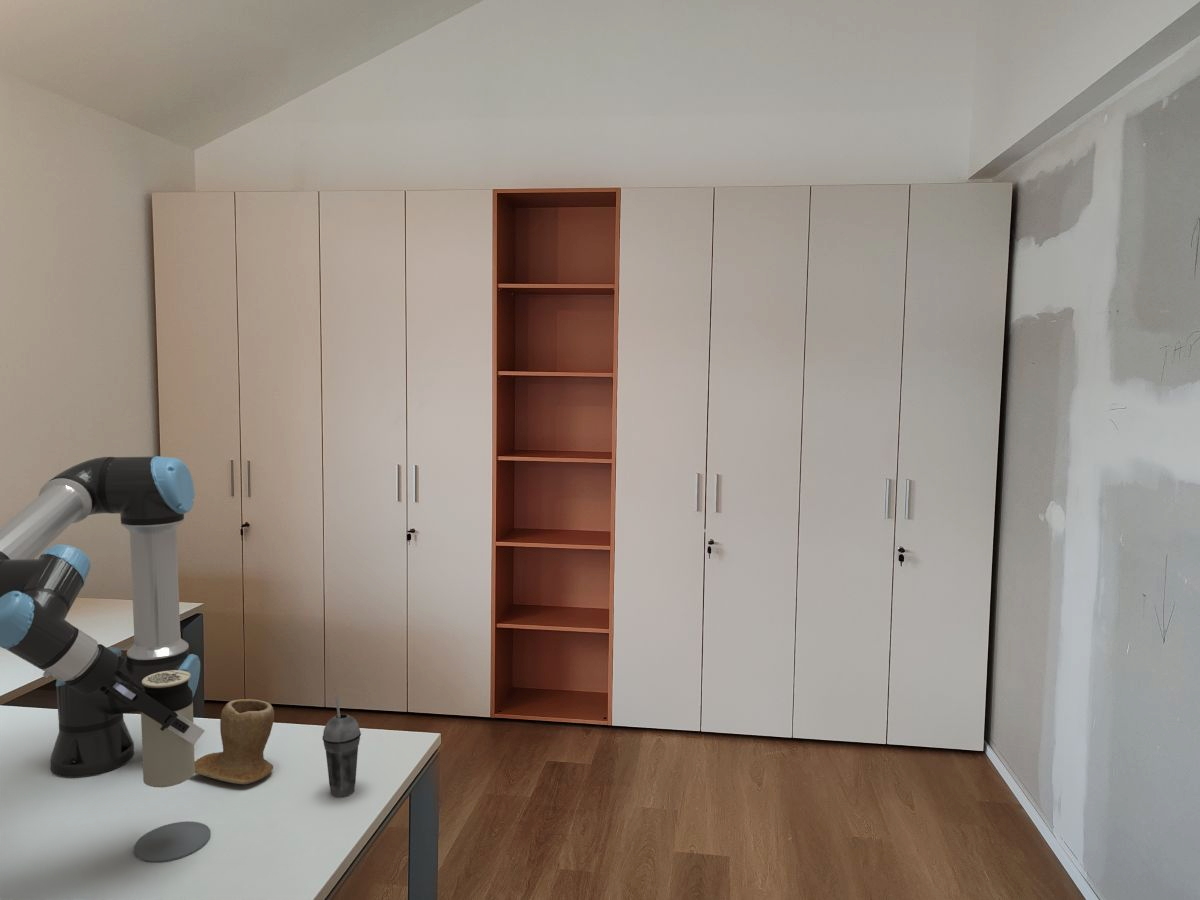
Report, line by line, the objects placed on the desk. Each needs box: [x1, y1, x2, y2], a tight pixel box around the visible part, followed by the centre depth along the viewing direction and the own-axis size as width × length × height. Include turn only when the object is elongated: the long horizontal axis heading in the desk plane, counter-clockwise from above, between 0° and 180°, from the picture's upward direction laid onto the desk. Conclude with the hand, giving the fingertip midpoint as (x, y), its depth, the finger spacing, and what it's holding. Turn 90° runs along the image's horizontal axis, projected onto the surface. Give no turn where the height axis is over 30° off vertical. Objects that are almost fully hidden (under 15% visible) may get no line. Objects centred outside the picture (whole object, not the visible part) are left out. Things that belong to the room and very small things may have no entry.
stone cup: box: [194, 698, 275, 785], centre depth 171 cm, size 15×12×15 cm
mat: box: [133, 821, 212, 863], centre depth 147 cm, size 12×12×1 cm
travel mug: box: [140, 670, 196, 789], centre depth 144 cm, size 8×8×18 cm
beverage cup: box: [321, 695, 362, 798], centre depth 164 cm, size 7×7×20 cm
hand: (188, 729), depth 147 cm, fingers closed on travel mug, 8 cm apart
